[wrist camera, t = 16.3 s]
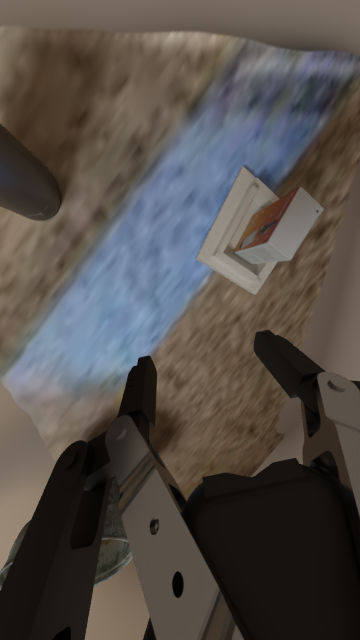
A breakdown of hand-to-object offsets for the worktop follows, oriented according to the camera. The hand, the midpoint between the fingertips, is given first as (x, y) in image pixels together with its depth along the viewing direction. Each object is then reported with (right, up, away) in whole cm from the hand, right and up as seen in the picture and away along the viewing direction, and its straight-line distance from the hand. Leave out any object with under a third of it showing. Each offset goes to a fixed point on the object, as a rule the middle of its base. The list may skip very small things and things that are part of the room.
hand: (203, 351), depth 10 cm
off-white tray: (+14, +20, +20) cm, 32 cm away
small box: (+14, +20, +20) cm, 31 cm away
